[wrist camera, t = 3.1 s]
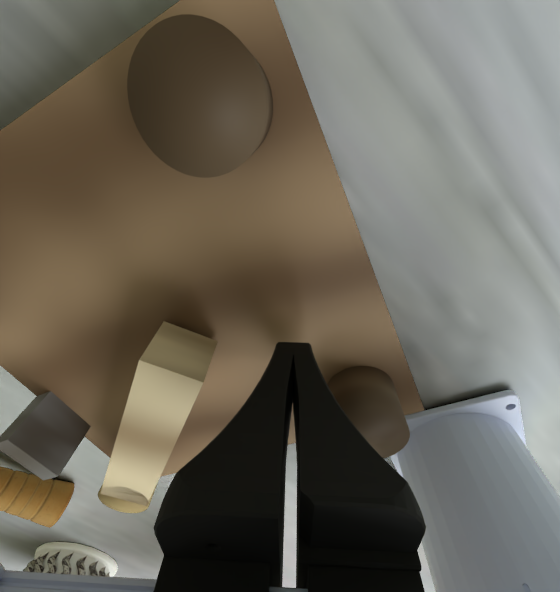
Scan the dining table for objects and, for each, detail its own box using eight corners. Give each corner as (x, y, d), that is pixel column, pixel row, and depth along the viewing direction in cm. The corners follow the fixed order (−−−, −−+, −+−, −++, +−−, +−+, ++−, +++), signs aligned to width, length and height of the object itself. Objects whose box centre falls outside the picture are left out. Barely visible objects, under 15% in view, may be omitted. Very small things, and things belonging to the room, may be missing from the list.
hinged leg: (160, 473, 19) (143, 517, 17) (117, 461, 19) (94, 504, 17) (220, 342, 14) (206, 383, 12) (161, 320, 13) (136, 358, 11)
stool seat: (409, 373, 18) (447, 465, 13) (154, 446, 22) (117, 532, 18) (263, -18, 10) (233, -127, 5) (-84, 219, 15) (-258, 270, 10)
